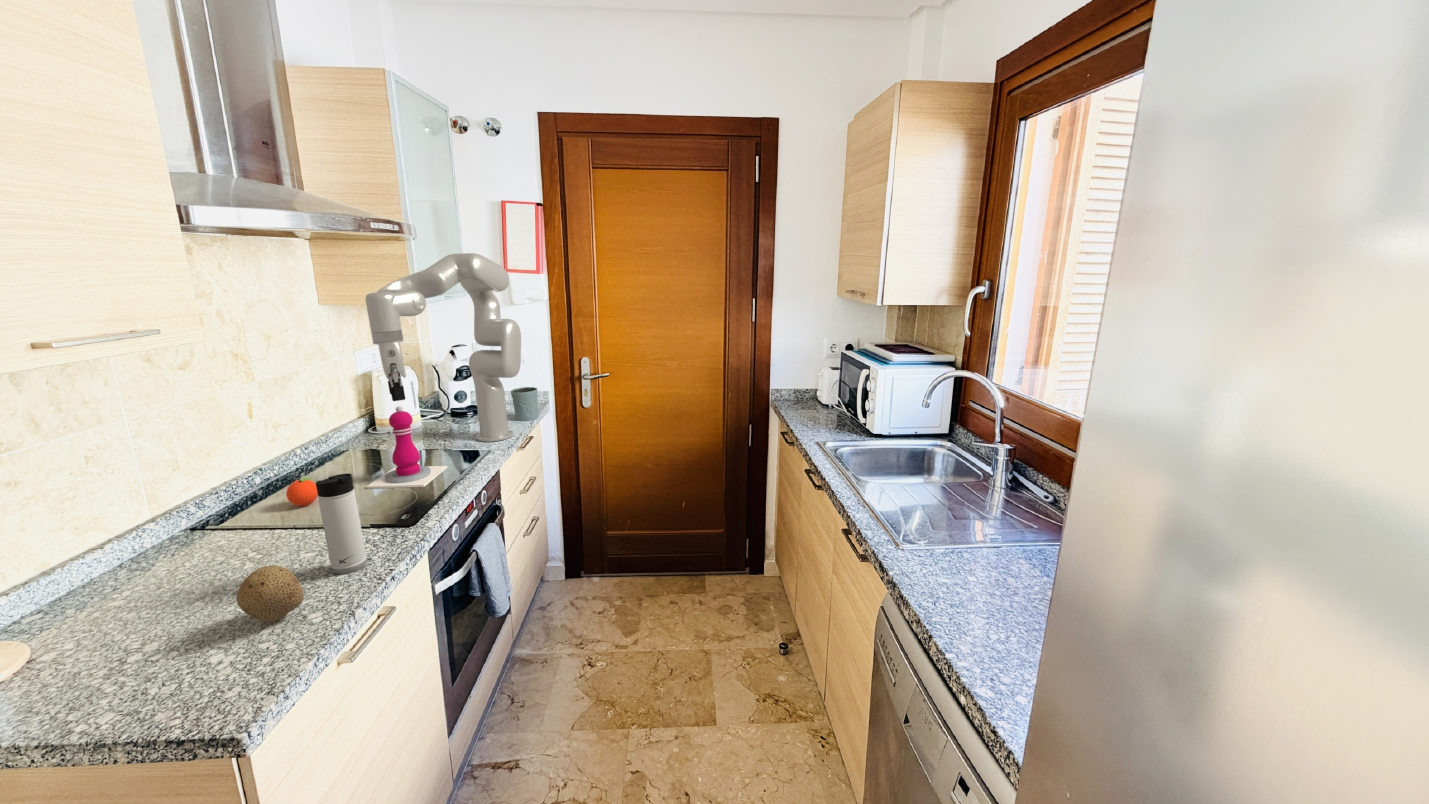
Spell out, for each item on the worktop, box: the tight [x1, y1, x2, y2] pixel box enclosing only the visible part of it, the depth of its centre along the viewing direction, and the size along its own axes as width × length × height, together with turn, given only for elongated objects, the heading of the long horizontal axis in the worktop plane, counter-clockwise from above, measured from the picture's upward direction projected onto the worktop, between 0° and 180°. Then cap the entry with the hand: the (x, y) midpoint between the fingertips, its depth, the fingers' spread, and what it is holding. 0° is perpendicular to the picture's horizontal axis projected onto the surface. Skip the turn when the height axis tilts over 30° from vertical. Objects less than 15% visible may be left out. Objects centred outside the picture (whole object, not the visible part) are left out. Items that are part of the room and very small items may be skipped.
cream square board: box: [365, 465, 448, 490], centre depth 172 cm, size 16×16×2 cm
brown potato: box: [236, 565, 305, 623], centre depth 103 cm, size 9×9×10 cm
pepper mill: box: [388, 405, 421, 476], centre depth 170 cm, size 7×7×20 cm
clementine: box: [285, 477, 319, 507], centre depth 154 cm, size 8×7×7 cm
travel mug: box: [315, 473, 368, 575], centre depth 119 cm, size 6×7×20 cm
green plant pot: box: [510, 386, 539, 422], centre depth 235 cm, size 10×10×12 cm
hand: (397, 396), depth 167 cm, fingers open, 9 cm apart
